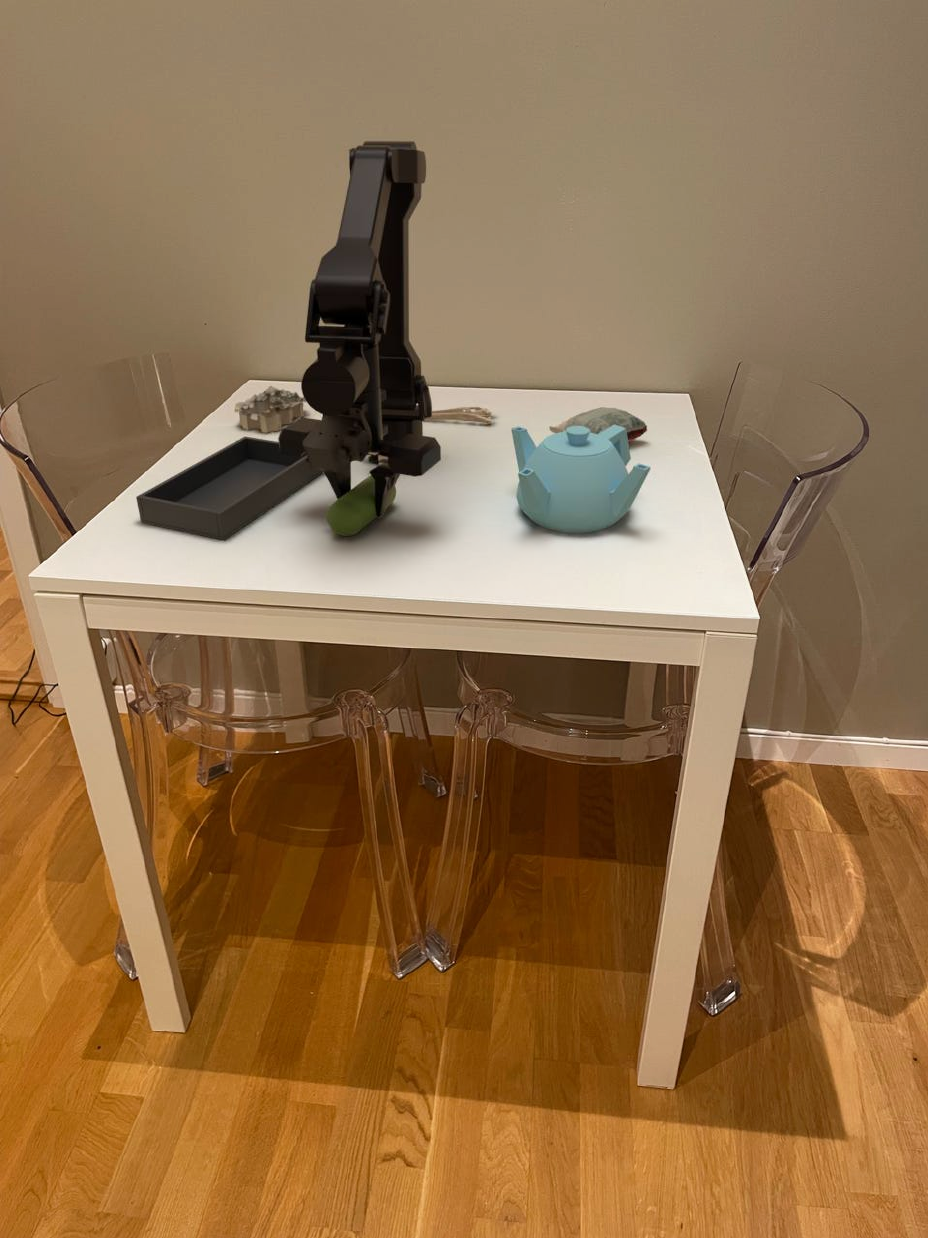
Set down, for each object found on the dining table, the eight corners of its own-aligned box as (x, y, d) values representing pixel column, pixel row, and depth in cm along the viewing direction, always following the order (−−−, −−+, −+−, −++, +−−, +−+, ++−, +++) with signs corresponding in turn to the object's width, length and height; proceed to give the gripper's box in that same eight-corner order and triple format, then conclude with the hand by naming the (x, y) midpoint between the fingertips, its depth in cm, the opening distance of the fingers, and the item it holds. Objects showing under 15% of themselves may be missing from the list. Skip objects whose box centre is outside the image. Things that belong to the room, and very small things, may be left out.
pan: (323, 472, 127) (321, 448, 126) (224, 540, 110) (220, 513, 108) (247, 459, 132) (244, 436, 130) (141, 522, 114) (135, 496, 113)
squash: (403, 504, 119) (401, 471, 116) (354, 545, 109) (351, 510, 107) (372, 498, 120) (370, 466, 118) (321, 538, 110) (318, 503, 108)
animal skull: (492, 415, 147) (491, 403, 146) (491, 426, 143) (490, 413, 142) (381, 421, 148) (379, 408, 147) (377, 432, 144) (375, 419, 143)
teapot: (646, 540, 110) (655, 452, 104) (516, 541, 109) (519, 453, 104) (625, 487, 123) (632, 407, 117) (509, 488, 122) (511, 408, 117)
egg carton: (272, 435, 140) (269, 408, 138) (231, 427, 143) (227, 401, 141) (312, 413, 148) (310, 387, 146) (273, 406, 151) (270, 381, 149)
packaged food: (548, 444, 136) (550, 411, 133) (606, 426, 142) (608, 394, 139) (591, 463, 130) (594, 428, 127) (649, 443, 136) (653, 410, 134)
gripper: (243, 396, 103) (260, 526, 111) (395, 419, 96) (401, 555, 104) (298, 369, 111) (310, 491, 120) (441, 388, 105) (443, 515, 113)
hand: (363, 512), depth 114 cm, fingers closed on squash, 4 cm apart
